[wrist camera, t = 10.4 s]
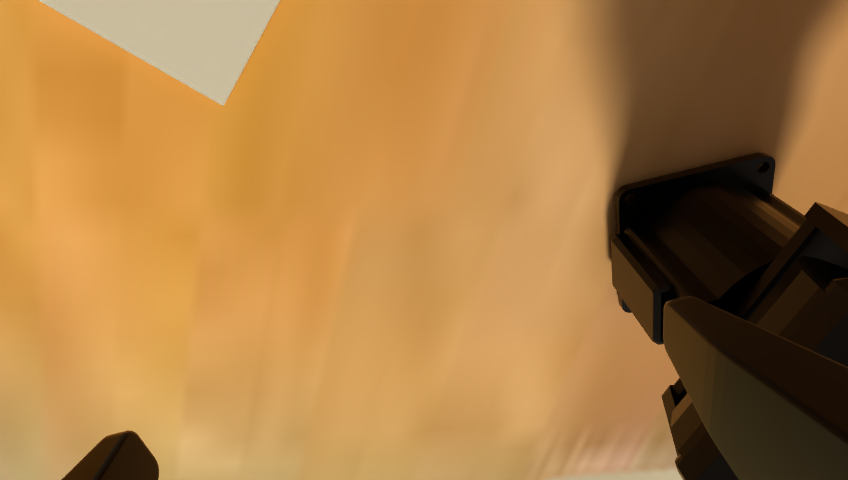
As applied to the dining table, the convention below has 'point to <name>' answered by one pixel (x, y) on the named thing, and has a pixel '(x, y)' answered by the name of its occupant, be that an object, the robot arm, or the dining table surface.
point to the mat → (180, 35)
